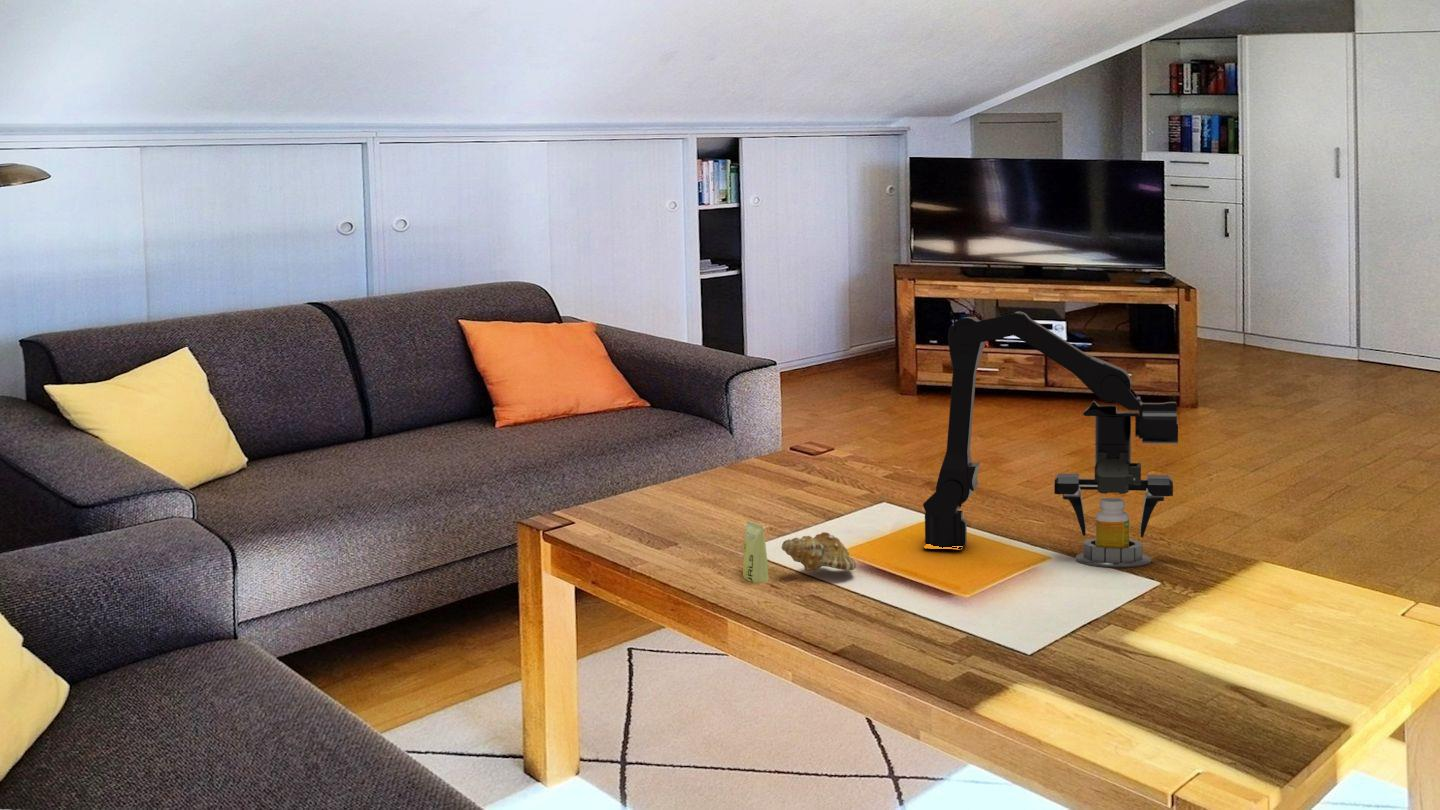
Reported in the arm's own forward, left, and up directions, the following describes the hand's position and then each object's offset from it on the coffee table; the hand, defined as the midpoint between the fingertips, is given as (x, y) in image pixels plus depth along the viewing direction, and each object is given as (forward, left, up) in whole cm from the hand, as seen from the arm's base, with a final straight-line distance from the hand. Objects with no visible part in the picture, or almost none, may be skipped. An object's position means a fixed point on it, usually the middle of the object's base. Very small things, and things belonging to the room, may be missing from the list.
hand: (1112, 536), depth 224 cm
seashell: (-44, -17, -5) cm, 47 cm away
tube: (-56, -21, -15) cm, 62 cm away
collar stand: (0, 0, -4) cm, 4 cm away
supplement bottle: (0, 0, -4) cm, 4 cm away
